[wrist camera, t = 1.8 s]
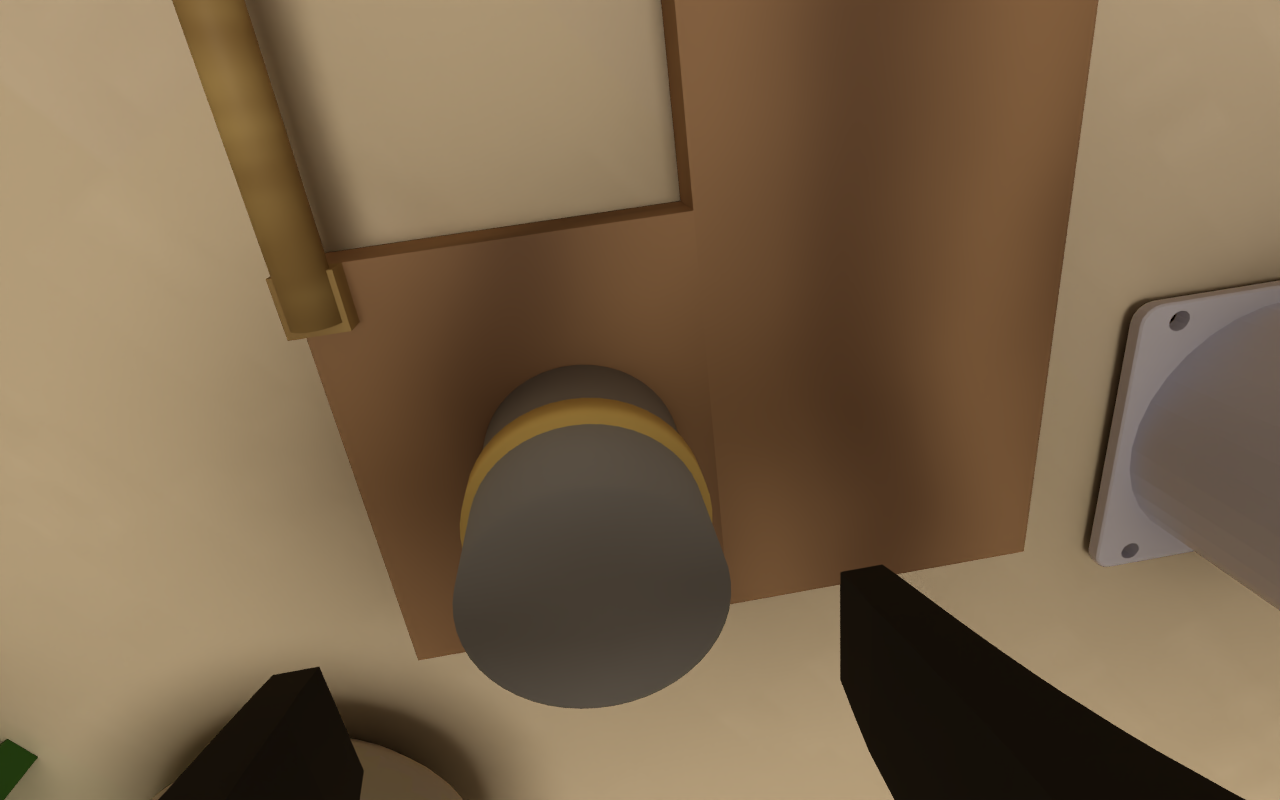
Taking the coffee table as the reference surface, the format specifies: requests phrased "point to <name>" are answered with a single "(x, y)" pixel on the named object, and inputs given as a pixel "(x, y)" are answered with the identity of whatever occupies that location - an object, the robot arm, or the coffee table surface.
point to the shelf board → (728, 288)
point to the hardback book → (13, 765)
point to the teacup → (393, 777)
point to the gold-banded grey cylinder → (587, 545)
